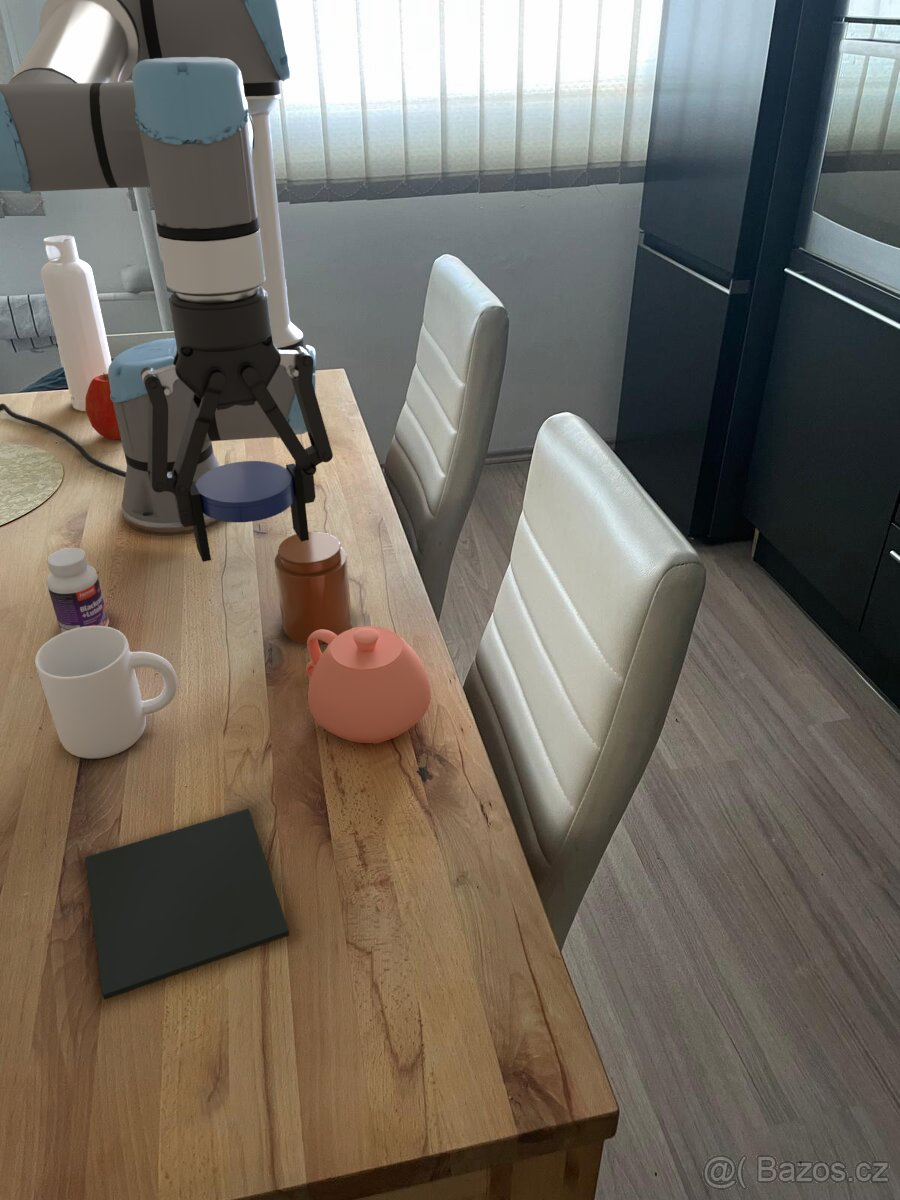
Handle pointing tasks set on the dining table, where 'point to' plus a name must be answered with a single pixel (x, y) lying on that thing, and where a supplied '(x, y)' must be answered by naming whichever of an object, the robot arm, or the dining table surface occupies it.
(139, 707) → the mug
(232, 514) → the lid
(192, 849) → the mat
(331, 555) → the jar
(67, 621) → the pill bottle
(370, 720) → the sugar bowl
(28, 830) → the dining table surface
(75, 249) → the bottle
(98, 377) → the apple
